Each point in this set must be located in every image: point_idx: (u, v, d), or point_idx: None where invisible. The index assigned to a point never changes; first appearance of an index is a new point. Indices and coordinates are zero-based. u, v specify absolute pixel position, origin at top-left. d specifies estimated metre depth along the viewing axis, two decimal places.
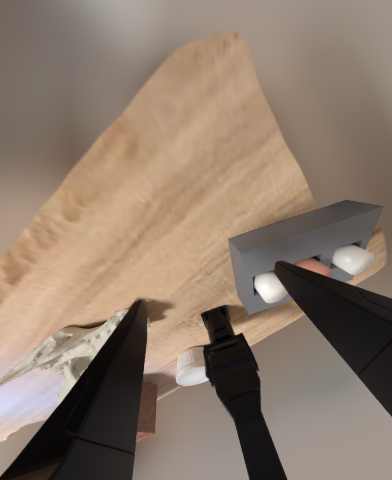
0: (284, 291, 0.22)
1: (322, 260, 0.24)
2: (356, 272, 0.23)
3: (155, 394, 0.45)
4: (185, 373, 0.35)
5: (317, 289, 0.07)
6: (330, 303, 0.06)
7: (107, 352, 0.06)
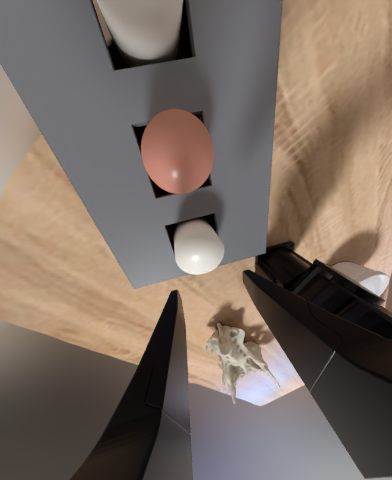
0: (198, 240, 0.11)
1: (153, 111, 0.09)
2: None
3: None
4: None
5: (273, 302, 0.06)
6: (283, 318, 0.06)
7: (161, 336, 0.06)
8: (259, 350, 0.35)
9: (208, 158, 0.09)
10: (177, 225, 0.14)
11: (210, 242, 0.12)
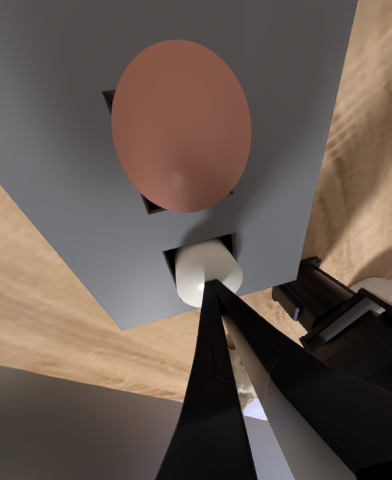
0: (209, 267, 0.08)
1: None
2: None
3: None
4: None
5: (229, 315, 0.06)
6: (236, 332, 0.06)
7: (210, 321, 0.06)
8: None
9: (241, 149, 0.05)
10: None
11: (224, 269, 0.09)
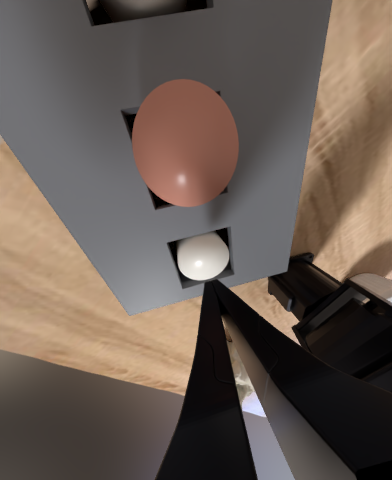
0: (202, 245, 0.11)
1: None
2: None
3: None
4: None
5: (229, 316, 0.06)
6: (236, 332, 0.06)
7: (210, 321, 0.06)
8: None
9: (231, 156, 0.06)
10: None
11: (214, 247, 0.11)
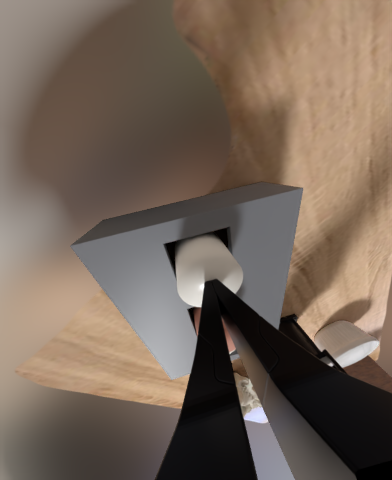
0: None
1: None
2: (236, 281, 0.09)
3: (366, 356, 0.42)
4: None
5: (229, 316, 0.06)
6: (236, 332, 0.06)
7: (210, 321, 0.06)
8: None
9: None
10: None
11: None
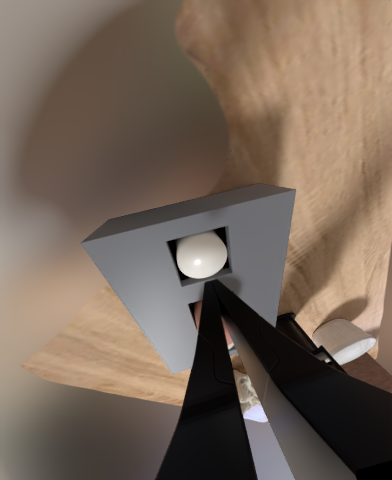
0: None
1: (202, 296, 0.14)
2: (222, 257, 0.12)
3: (366, 354, 0.43)
4: None
5: (229, 316, 0.06)
6: (236, 332, 0.06)
7: (210, 321, 0.06)
8: None
9: None
10: None
11: None
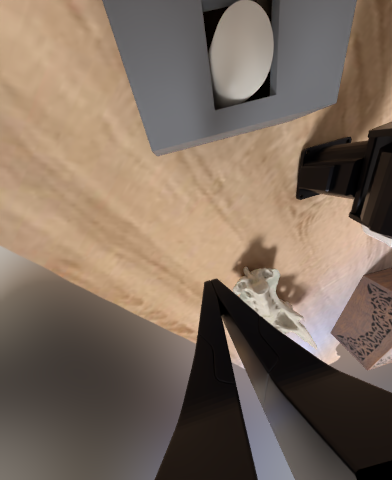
0: (244, 20, 0.09)
1: None
2: None
3: None
4: None
5: (229, 316, 0.06)
6: (236, 332, 0.06)
7: (210, 321, 0.06)
8: (291, 307, 0.30)
9: None
10: None
11: (257, 28, 0.09)
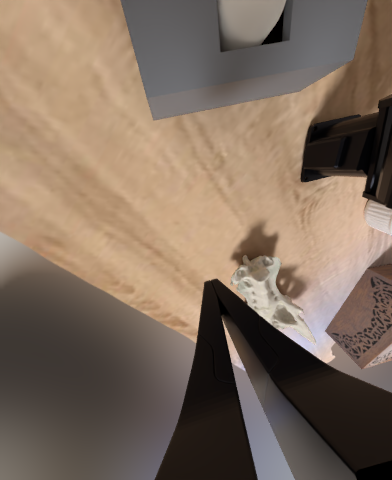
0: None
1: None
2: None
3: None
4: None
5: (229, 316, 0.06)
6: (236, 332, 0.06)
7: (210, 321, 0.06)
8: (290, 300, 0.29)
9: None
10: None
11: None
